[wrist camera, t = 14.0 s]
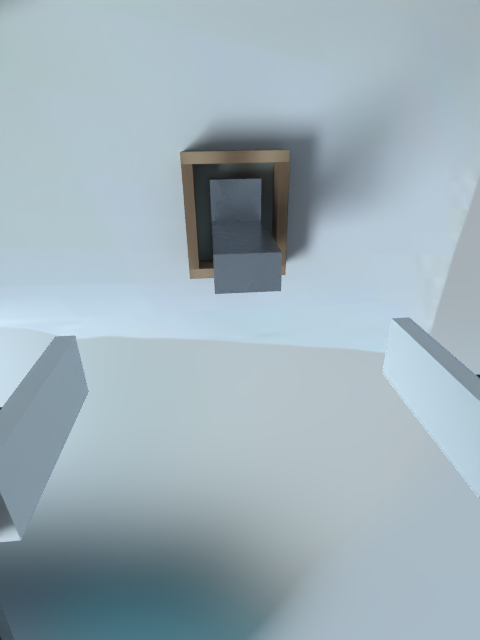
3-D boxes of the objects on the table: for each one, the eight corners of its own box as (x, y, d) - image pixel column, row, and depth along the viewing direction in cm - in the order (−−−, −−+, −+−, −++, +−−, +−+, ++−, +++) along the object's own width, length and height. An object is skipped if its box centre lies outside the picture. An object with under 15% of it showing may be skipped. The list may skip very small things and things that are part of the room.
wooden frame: (191, 268, 42) (190, 278, 39) (182, 151, 37) (180, 152, 33) (279, 264, 42) (285, 274, 39) (283, 149, 37) (290, 150, 34)
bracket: (258, 244, 41) (280, 290, 28) (212, 246, 40) (215, 293, 28) (258, 176, 38) (284, 194, 25) (209, 178, 37) (210, 196, 25)
